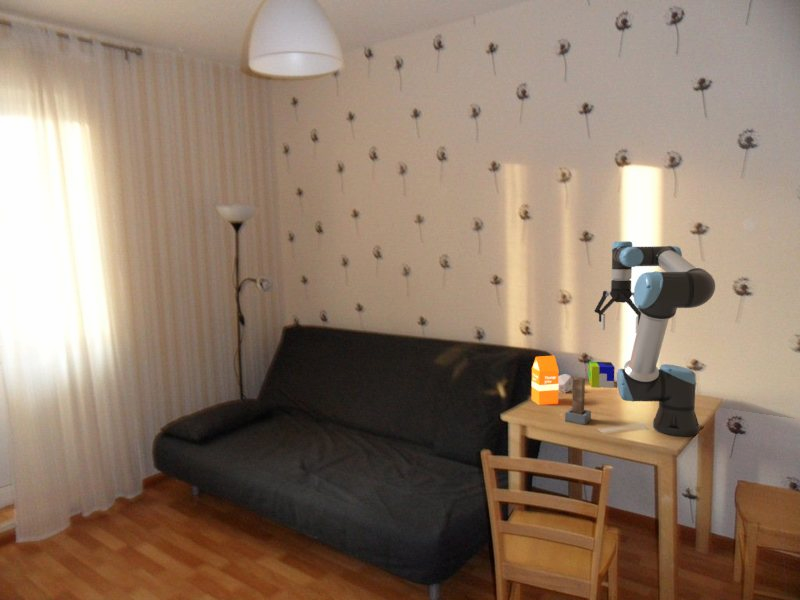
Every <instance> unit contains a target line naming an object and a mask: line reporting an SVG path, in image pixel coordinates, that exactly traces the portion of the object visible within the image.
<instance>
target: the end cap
mask: <svg viewBox="0 0 800 600" xmlns="http://www.w3.org/2000/svg"><path fill="white" fill-rule="evenodd" d="M591 420H592V410H589V409H584V414H583V415H581V414H575V413H572V407H571V408H569V409H568V410H567V411H565V413H564V421H565V422H567V423H571V424H577V425H582V426H585V425H586V424H587V423H589V422H590V421H591Z"/></svg>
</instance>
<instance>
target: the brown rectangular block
mask: <svg viewBox="0 0 800 600" xmlns="http://www.w3.org/2000/svg"><path fill="white" fill-rule="evenodd" d="M585 381H586V378H585V377H573V389H572V398H571V399H572V403H571V408H572V413H575V414H581V415H583V414H584V410H585V393H586V390H585V389H586V387H585V386H586V382H585Z"/></svg>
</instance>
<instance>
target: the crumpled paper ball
mask: <svg viewBox="0 0 800 600" xmlns="http://www.w3.org/2000/svg"><path fill="white" fill-rule="evenodd" d="M573 379H574V377H572V376H571V375H569V374H567V373H564V374H560V375H558V391H560V392H562V393H563V392H564V393H563V394H566V392H567V393H569V391H570V392H572V391H573Z"/></svg>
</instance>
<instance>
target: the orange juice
mask: <svg viewBox="0 0 800 600" xmlns="http://www.w3.org/2000/svg"><path fill="white" fill-rule="evenodd" d="M558 377H559V367H558V364H557V359H556V357H555V355H545V356H544V355H543V356H541V355H539V356H535V358H534V361H533V365H532V367H531V401H533V402H534V403H536V404H537V405H538V406H540V405H541V406H542V405H554V404H559V389H558Z"/></svg>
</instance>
